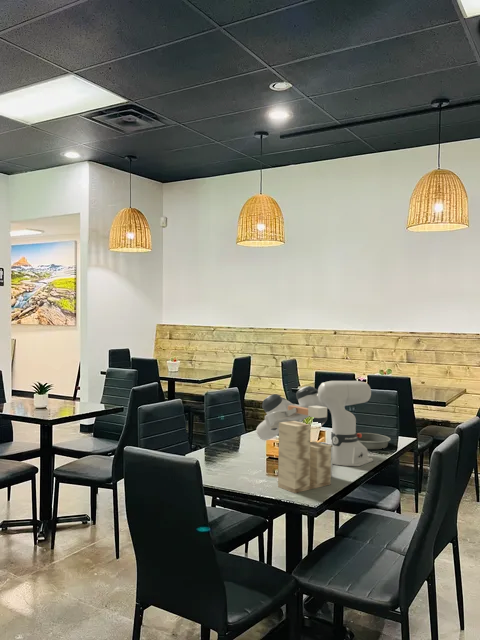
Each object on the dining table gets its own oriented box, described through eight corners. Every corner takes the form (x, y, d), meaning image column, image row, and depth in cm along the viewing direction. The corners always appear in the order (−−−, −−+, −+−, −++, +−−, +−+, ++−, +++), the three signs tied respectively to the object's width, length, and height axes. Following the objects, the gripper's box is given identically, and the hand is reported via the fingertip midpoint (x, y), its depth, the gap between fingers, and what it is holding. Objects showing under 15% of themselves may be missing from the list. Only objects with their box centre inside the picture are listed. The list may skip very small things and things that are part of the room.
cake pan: (382, 452, 293) (382, 443, 293) (337, 446, 306) (337, 438, 306) (396, 444, 314) (396, 435, 314) (353, 438, 327) (353, 430, 327)
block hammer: (294, 410, 249) (294, 401, 249) (327, 417, 233) (327, 407, 233) (285, 411, 246) (285, 402, 246) (318, 418, 230) (318, 408, 230)
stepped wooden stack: (313, 478, 241) (314, 418, 241) (330, 484, 233) (331, 421, 233) (278, 486, 229) (279, 422, 229) (294, 493, 221) (295, 426, 221)
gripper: (300, 425, 257) (319, 413, 247) (265, 430, 244) (284, 418, 235) (295, 412, 259) (314, 400, 250) (261, 416, 247) (279, 404, 237)
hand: (299, 409), depth 242 cm, fingers closed on block hammer, 2 cm apart
